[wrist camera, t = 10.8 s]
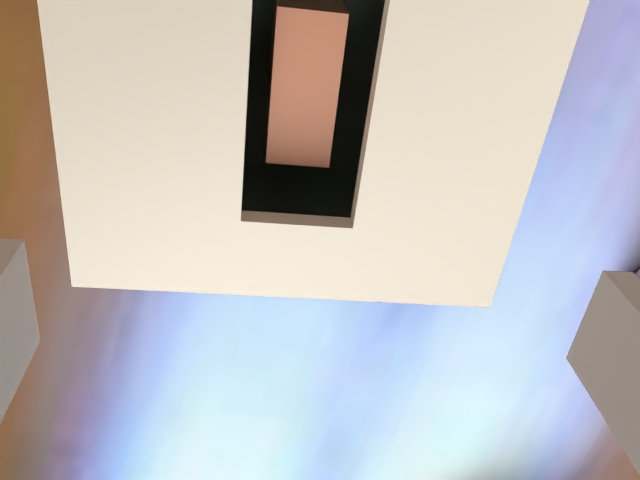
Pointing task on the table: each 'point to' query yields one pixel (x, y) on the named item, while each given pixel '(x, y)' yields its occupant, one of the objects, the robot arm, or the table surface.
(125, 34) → the pale green white box
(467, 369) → the table surface
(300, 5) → the pink rectangular block
